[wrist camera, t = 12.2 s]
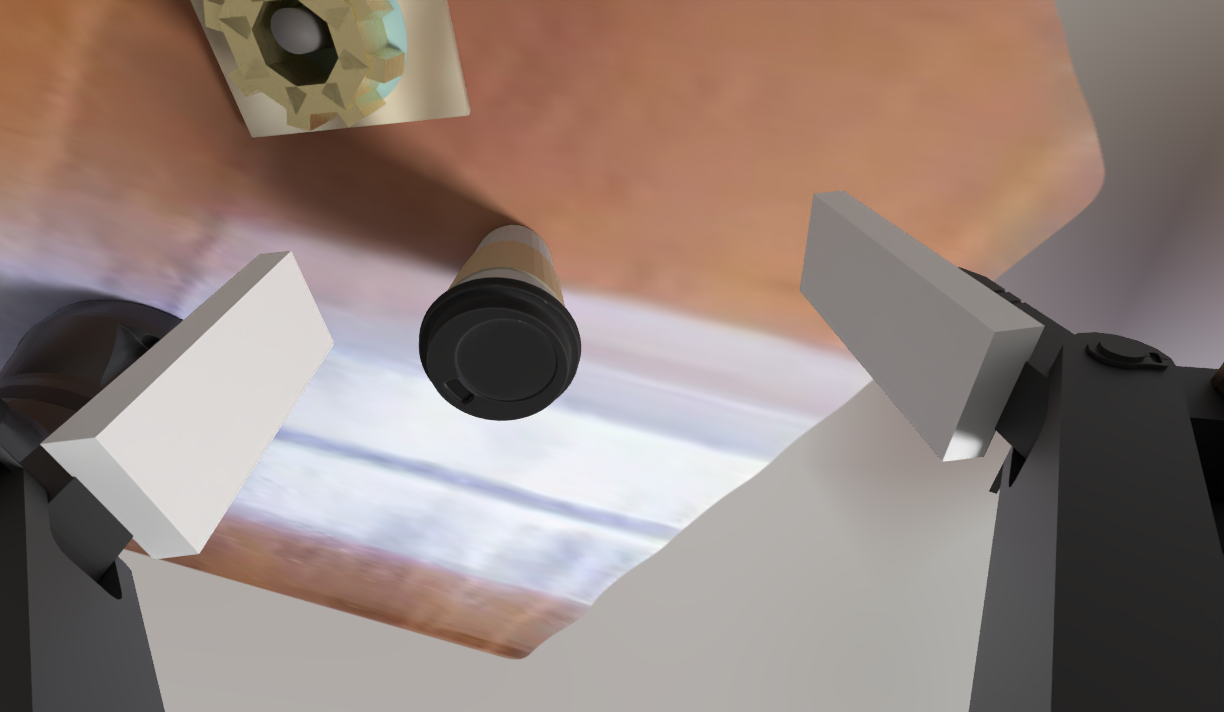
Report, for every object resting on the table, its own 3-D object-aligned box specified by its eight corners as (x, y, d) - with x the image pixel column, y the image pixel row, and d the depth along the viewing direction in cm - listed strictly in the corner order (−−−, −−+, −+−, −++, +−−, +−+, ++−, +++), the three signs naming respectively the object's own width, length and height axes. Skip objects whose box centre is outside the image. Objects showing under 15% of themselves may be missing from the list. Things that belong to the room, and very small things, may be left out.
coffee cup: (437, 280, 42) (387, 397, 30) (484, 177, 38) (449, 264, 26) (542, 327, 45) (537, 449, 33) (596, 237, 41) (613, 339, 29)
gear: (289, 120, 33) (251, 138, 29) (223, -45, 28) (167, -52, 24) (421, 107, 33) (402, 123, 29) (377, -59, 29) (348, -68, 25)
